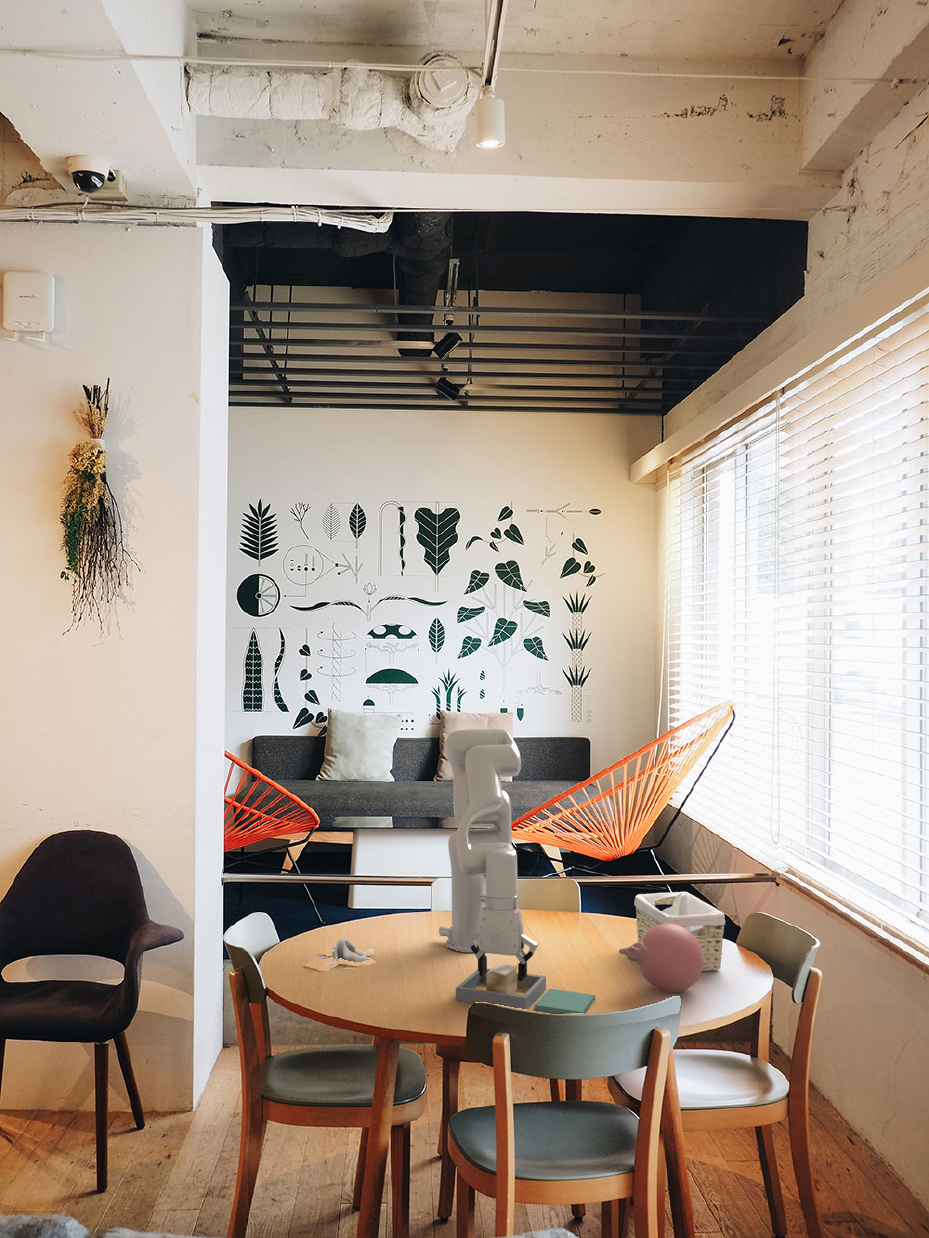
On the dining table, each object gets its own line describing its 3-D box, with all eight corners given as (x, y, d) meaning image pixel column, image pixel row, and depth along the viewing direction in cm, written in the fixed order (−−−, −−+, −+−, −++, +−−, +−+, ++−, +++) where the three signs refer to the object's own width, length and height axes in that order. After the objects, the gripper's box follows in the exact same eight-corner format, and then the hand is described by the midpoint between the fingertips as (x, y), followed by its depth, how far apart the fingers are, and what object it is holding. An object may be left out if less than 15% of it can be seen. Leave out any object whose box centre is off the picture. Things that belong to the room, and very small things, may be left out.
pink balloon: (613, 979, 225) (612, 916, 226) (694, 978, 225) (693, 915, 226) (624, 1002, 210) (624, 934, 210) (711, 1002, 210) (710, 934, 211)
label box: (486, 999, 213) (486, 971, 213) (497, 988, 219) (496, 962, 219) (506, 1002, 211) (506, 974, 211) (516, 991, 217) (516, 965, 217)
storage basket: (632, 947, 250) (632, 892, 251) (688, 943, 253) (687, 889, 254) (667, 977, 227) (667, 916, 227) (728, 973, 230) (727, 913, 230)
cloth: (298, 974, 231) (298, 949, 231) (311, 951, 249) (312, 928, 250) (386, 974, 230) (386, 950, 231) (393, 951, 249) (393, 928, 249)
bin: (456, 1000, 211) (455, 987, 211) (479, 979, 225) (479, 967, 225) (525, 1011, 205) (525, 997, 205) (546, 989, 218) (546, 976, 219)
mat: (535, 1009, 206) (535, 1004, 206) (549, 992, 216) (549, 988, 216) (582, 1016, 202) (582, 1011, 202) (595, 999, 212) (595, 994, 212)
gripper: (461, 903, 215) (462, 977, 214) (531, 909, 209) (532, 986, 208) (473, 896, 222) (474, 968, 221) (541, 902, 216) (542, 976, 215)
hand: (502, 976), depth 214 cm, fingers open, 9 cm apart
